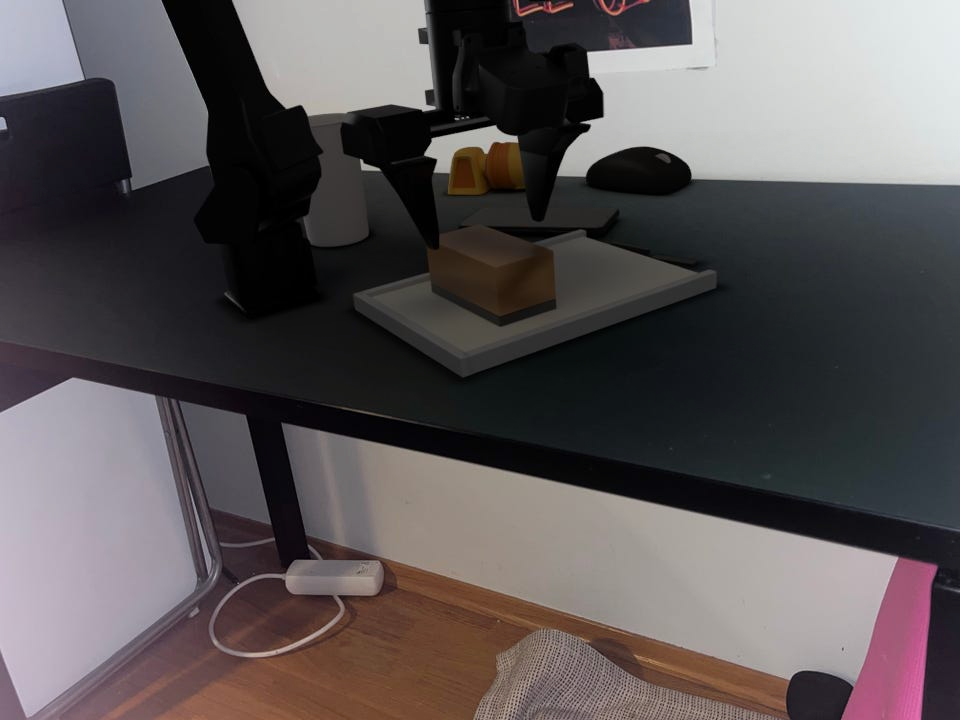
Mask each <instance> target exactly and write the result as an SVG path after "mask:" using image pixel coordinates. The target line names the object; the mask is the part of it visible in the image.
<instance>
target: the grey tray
mask: <svg viewBox="0 0 960 720" xmlns="http://www.w3.org/2000/svg"><path fill="white" fill-rule="evenodd" d="M533 243H534V244H536V245H539V246H542V247H545V248H548V249H550V250H553V253H554V271H555V290H556V298H555V299H556V309H553V310H550V311H547V312H544V313H541V314H538V315H535V316H532V317H529V318H526V319H523V320H520V321H517V322H514V323H511V324H508V325H505V326H502V327H500V326H498V325H496V324H494V323H492V322H490V321H488V320H486V319H484V318H482V317H480V316H478V315H476V314H474V313H472V312H470V311H468V310H466V309H464V308H462V307H461V306H459V305H457V304H455V303H453V302H451V301H449V300H447V299H445V298H443V297H441V296H439V295H437V294H435V293H433V292H432V288H431V280H430V272H426V273H425V272H424V273H422V274H417V275H414V276H410V277H407V278H404V279H400V280H396V281H393V282H390V283H387V284H383V285H379V286H376V287H372V288H369V289H365V290H361V291H358V292H353V293H352V298H353V304H354V305H353V306H354V310H355V311H357V313H359V314H361V315H363V317H366V318H367V319H369V320H371V322H374V323H375V324H377V325H378V326H380V327H382V328H383V329H385V330H386V331H388V332H390V333H391V334H392V335H394V336H396V337H398V338H399V339H401V341H404V342H405V343H407V344H408V345H410V346H412V347H413V348H414V349H416V350H418V351H420V352H421V353H423V354H424V355H426V356H427V357H429V358H430V359H432V360H433V361H436V362H437V363H439V364H440V365H442V367H443V366H444V367H445V368H446V369H448V370H450V371H451V372H452V373H454V374H456V375H457V376H459V377H460V378H463V379H464V378H466V377H469V376H472V375H475V374H476V373H479V372H482V371H485V370H487V369H488V370H489V369H491V368H494V367H496V366H500V365H503V364H506V363H508V362H511V361H514V360H516V359H519V358H523V357H525V356H528V355H531V354H534V353H537V352H539V351H542V350H545V349H548V348H551V347H554V346H557V345H559V344H562V343H565V342H568V341H570V340H574V339H576V338H579V337H581V336H586V335H587V334H590V333H593V332H596V331H599V330H601V329H604V328H607V327H610V326H614V325H616V324H618V323H622V322H625V321H628V320H629V319H633V318H636V317H639V316H641V315H644V314H646V313H650V312H653V311H656V310H658V309H662V308H664V307H667V306H670V305H673V304H675V303H678V302H680V301H681V302H682V301H684V300H687V299H689V298H693V297H695V296H698V295H701V294H704V293H706V292H709V291H713V290H715V289H717V283H718V282H717V281H718V280H717V279H718V278H717V277H718V272H717V271H716V270H713V269H706V270H703V271H700V272H696V271H693V270H690V269H687V268H683V267H682V266H681V267H678V266H679V265H677V266H675V265H671V264H668V263H665V262H662V261H659V260H656V259H653V258H651V256H650V257H646V256H643V255H640V254H637V253H634V252H631V251H628V250H624V249H621V248H618V247H615V246H612V245H611V244H609V243H606V242H602V241H600V240H596V239H593V238H590V237H587V235H586V231H585V230H577V231H574V232H570V233H566V234H563V235H555V236H552V237H549V238H546V239H542V240H539V241H538V240H537V241H535V242H533Z"/></svg>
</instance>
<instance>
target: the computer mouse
mask: <svg viewBox="0 0 960 720" xmlns="http://www.w3.org/2000/svg"><path fill="white" fill-rule="evenodd" d="M692 178H693V175H692V169H691V168H690V166H689V164H688V163H687V162H686V161H685V160H683V159H682V158H681V157H679V156H678V155H676V154H674V153H671V152H670V151H667V150H664V149H661V148H657V147H654V146H653V147H652V146H644V145H643V146H633V147H632V146H631V147H628V148H625V149H620V150H617V151H615V152H613V153H610V154H607V155H606V156H604V157H602V158H600V159H598V160H596V161H595V162H594V163H592V164H591V165H590V166H589V168H588V169H587V171H586V173H585V181H586V183H587V184H588V186H592V187H596V188H602V189H608V190H616V191H626V192H632V193H633V192H634V193H643V194H666V193H670V192H673V191H676V190H677V189H679V188H681V187H684V186H685V185H687V184H688V183H689V182H691V180H692Z"/></svg>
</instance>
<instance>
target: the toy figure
mask: <svg viewBox="0 0 960 720" xmlns="http://www.w3.org/2000/svg"><path fill="white" fill-rule="evenodd" d="M449 170H450V171H449V177H448V178H449V179H448V187H447V195H456V196H457V195H461V196H462V195H463V196H469V195H470V196H476V195H477V196H479V195H483V194H485V193H487V192H488V191H490V190H491V189H494V190H499V189H505V190H513V189H514V190H515V191H519V190H525V184H524V177H523V170H522V164H521V157H520V150H519V145H518V141H516V142H515V141H505V142H500V141H493V142H492V143H491V146H490V147H489V149H488V152H487V153H485V151H484V149H483V148H482V147H480V146H467V147H462V148H459V149H458V150H456V151H455V152H454V153H453V155H452V158H451V162H450V169H449Z"/></svg>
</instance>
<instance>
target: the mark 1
mask: <svg viewBox="0 0 960 720" xmlns="http://www.w3.org/2000/svg"><path fill="white" fill-rule="evenodd" d="M610 245H612V246H615V247H618V248H621V249H624V250H628V251H631V252H634V253H637V254H640V255H643V256H646V257H650V258H651V248H647V247H644V246H639V245H633V244H628V243H623V242H619V241H618V242H617V241H611V242H610Z"/></svg>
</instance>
